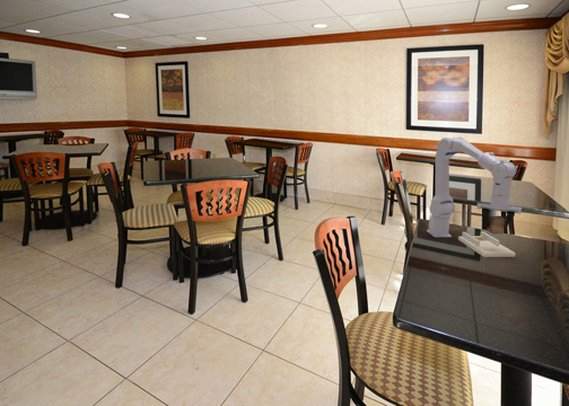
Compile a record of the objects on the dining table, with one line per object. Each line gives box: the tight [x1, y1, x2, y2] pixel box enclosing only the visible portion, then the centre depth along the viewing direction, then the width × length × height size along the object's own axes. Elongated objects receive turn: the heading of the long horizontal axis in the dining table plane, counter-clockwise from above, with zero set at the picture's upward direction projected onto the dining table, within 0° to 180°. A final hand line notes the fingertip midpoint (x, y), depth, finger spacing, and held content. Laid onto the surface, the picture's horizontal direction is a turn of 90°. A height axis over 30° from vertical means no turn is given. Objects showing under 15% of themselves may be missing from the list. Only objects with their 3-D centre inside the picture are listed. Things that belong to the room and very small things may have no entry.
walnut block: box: [486, 215, 506, 235], centre depth 136 cm, size 4×4×6 cm
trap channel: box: [457, 231, 516, 258], centre depth 144 cm, size 20×12×4 cm, turn 0°
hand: (495, 228), depth 137 cm, fingers closed on walnut block, 5 cm apart
